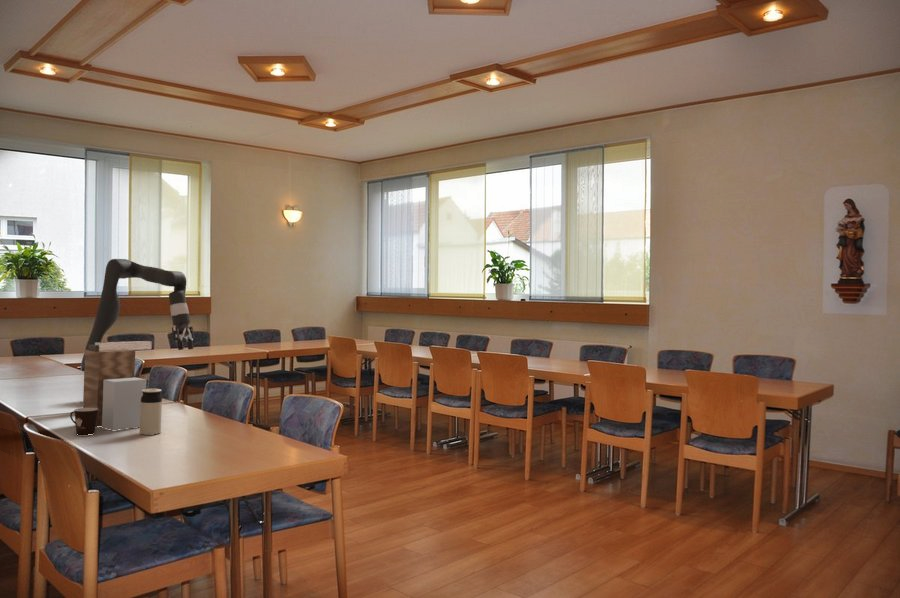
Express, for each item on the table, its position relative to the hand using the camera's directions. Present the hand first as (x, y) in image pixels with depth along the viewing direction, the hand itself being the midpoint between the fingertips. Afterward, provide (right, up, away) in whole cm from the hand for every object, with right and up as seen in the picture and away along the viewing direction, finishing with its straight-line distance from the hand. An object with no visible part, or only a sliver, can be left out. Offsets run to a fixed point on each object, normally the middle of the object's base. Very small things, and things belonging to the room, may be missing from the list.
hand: (186, 349), depth 309 cm
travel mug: (-5, -33, -27) cm, 42 cm away
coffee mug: (-29, -32, -31) cm, 53 cm away
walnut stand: (-31, -32, -9) cm, 45 cm away
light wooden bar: (-26, 0, -4) cm, 26 cm away
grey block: (-20, -32, -17) cm, 41 cm away
